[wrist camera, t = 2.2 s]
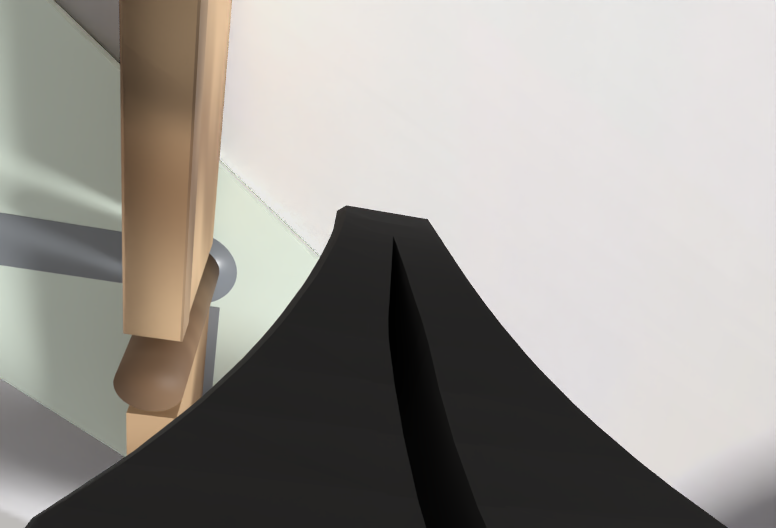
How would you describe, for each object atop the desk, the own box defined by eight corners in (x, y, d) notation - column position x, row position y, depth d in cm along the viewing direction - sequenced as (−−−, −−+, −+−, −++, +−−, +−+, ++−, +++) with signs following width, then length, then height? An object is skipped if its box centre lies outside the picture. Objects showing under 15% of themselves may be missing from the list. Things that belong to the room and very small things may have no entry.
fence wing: (214, 243, 19) (182, 341, 16) (165, 235, 19) (122, 333, 15) (240, -71, 14) (202, -24, 11) (176, -85, 14) (118, -42, 11)
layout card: (409, 343, 22) (410, 349, 22) (175, 481, 26) (173, 488, 26) (-24, -74, 15) (-30, -72, 15) (-261, 203, 19) (-270, 208, 18)
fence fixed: (223, 244, 20) (185, 368, 16) (202, 474, 26) (171, 607, 22) (165, 235, 20) (112, 358, 15) (158, 469, 25) (118, 602, 21)
